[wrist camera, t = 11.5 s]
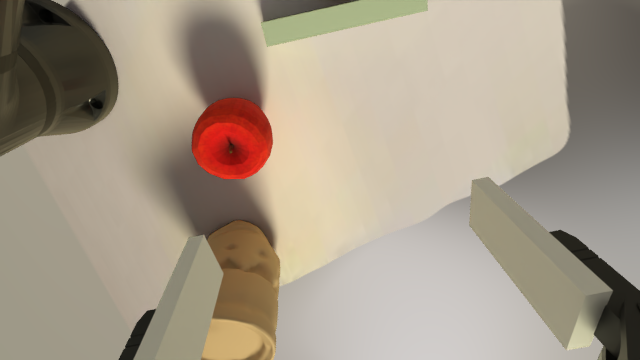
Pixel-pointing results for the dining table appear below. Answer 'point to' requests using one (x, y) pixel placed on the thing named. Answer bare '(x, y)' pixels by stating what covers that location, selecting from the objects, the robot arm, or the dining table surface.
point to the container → (244, 295)
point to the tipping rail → (337, 18)
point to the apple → (232, 139)
